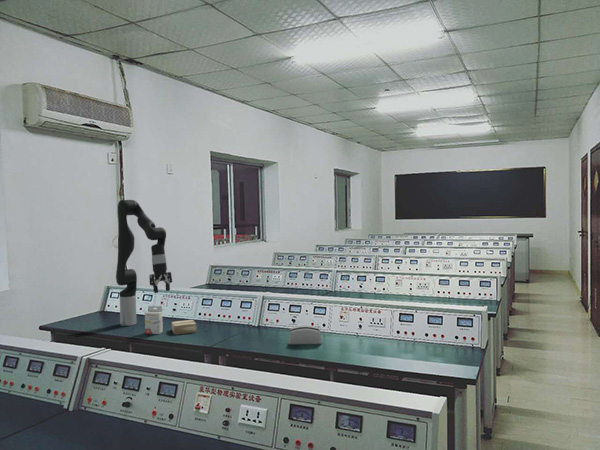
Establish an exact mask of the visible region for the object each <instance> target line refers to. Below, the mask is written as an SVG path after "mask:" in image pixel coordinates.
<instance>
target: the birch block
mask: <svg viewBox="0 0 600 450" xmlns="http://www.w3.org/2000/svg"><path fill="white" fill-rule="evenodd" d="M171 331H172V333H173V334H174V335H182V334H183V335H184V334H190V333H193V334H194V333H197V323H196V322H195V320H194V319H186V320H177V321H176V320H175V321H171Z"/></svg>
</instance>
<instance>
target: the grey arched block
mask: <svg viewBox="0 0 600 450" xmlns="http://www.w3.org/2000/svg"><path fill="white" fill-rule="evenodd" d="M288 335H289V336H288V345H321V344H323V342H322V340H323V339H322V333H321V329H320V328H318V327H316V326H309V325H303V326H302V325H300V326H295V327H292V328H290V329H289V334H288Z"/></svg>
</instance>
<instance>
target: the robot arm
mask: <svg viewBox="0 0 600 450" xmlns="http://www.w3.org/2000/svg"><path fill="white" fill-rule="evenodd" d="M128 216H135V217H136V218H137V224H138V226H139V227H140V229H142V231H144V234H145V236H146V239H148V240H150V241H157V242H156V243H155V244H153V245H151V247H150V250H151V262H152V264H151V265H152V272H153V273H151V274H149V277H148V278H149V285H150V286H152V287H153V292H154V294H158V293H159V288H158V284H159V283H160V282H163V283H165V291H166V292H170V290H171V286H170V285H171V283H173V278H172V272H171V271H168V272H167V270H168V267H167V258H166V257H167V256H166V253H165V245H166V238H167V232H166V229H165V228H163V227H161V226H160V227H156V224H155V222H154V221H153V220H152V219H150V217H148V216H147V214H146V213H145V211H144V210H143V209H142V207H141V206H140V203H139V202H137V201H136V200H133V199H121V200H119V202H118V203H117V219H118V221H117V223H118V235H117V237H118V238H117V263H116V273H115V280H116V283H117V285H118V286H126V287H125V288H124V289H122V290H121V291H119V319H120V320H119V323H120V326H123V327H125V326H127V327H128V326H134V325H136V324H137V295H136V293H137V290H138V289H137V287H138V285H137V283H138V282H137V281H138V280H137V278H138V276H137V272H136V270H135V269H133V268H129V269H126V267H127V262H128V260H129V259H130V257H131V256H132V254H133V251H134V249H135V236H134V233H133V231H132V229H131V228H130V226H129V225H128V218H127V217H128Z"/></svg>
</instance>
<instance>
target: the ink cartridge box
mask: <svg viewBox="0 0 600 450" xmlns="http://www.w3.org/2000/svg"><path fill="white" fill-rule="evenodd" d="M147 309H148V310H147V311H146V312H144V329H145V330H144V334H145V335H148V334H149V335H155V334H156V335H160V334H161V333H163V331H164V330H163V329H164V328H163V326H164V325H163V307H162V306H161V305H156V306H155V305H148V306H147Z"/></svg>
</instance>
